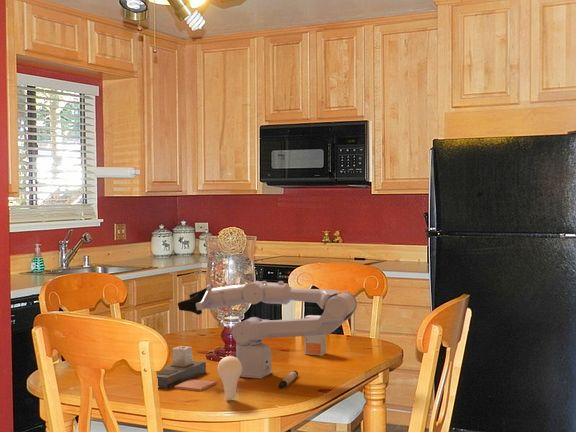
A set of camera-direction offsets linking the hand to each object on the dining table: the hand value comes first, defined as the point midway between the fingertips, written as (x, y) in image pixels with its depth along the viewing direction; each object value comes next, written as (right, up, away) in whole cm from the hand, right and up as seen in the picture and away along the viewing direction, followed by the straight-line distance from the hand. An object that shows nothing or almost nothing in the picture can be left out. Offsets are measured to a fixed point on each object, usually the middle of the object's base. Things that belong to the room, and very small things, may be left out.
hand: (184, 302), depth 228 cm
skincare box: (+39, -19, +20) cm, 47 cm away
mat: (+5, -20, -19) cm, 28 cm away
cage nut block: (0, -20, -7) cm, 21 cm away
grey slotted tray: (-1, -20, -10) cm, 23 cm away
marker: (+30, -20, -17) cm, 40 cm away
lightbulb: (+16, -21, -33) cm, 42 cm away
